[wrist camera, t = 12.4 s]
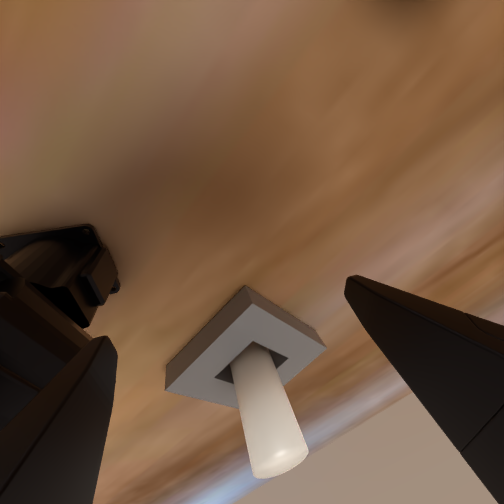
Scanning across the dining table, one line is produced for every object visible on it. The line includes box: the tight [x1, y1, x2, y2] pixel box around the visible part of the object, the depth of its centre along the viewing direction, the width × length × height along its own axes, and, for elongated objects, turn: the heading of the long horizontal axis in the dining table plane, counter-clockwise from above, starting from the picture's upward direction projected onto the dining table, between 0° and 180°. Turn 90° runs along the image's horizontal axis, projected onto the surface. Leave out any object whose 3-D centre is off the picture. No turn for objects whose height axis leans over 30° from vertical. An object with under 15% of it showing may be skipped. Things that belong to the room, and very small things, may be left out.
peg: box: [230, 341, 308, 479], centre depth 24 cm, size 5×5×12 cm
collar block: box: [165, 286, 327, 409], centre depth 28 cm, size 14×14×3 cm
